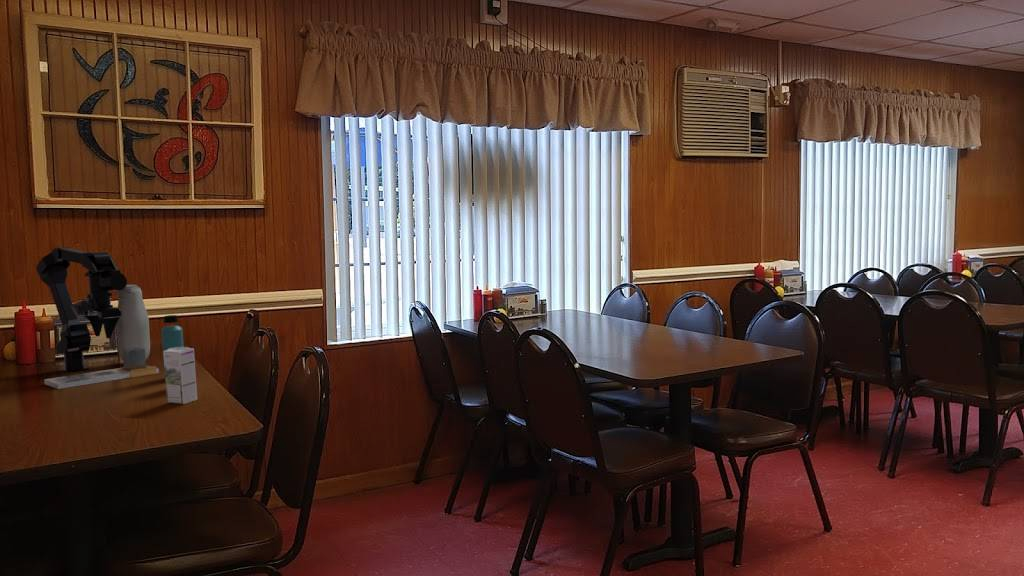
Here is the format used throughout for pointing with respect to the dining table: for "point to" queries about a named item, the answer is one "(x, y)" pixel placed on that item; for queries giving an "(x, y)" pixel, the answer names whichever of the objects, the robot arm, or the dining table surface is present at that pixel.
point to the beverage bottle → (171, 334)
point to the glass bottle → (132, 321)
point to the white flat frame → (98, 377)
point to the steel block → (134, 358)
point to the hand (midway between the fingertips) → (103, 337)
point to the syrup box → (180, 375)
